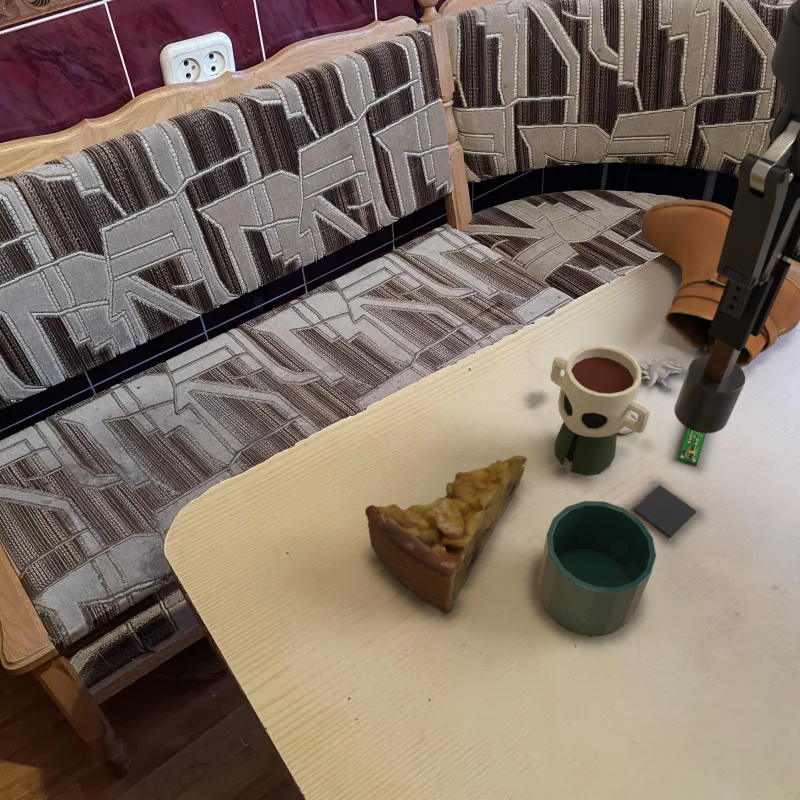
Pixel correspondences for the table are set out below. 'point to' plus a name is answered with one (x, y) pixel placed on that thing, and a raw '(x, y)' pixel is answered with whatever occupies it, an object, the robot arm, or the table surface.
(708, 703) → the table surface
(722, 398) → the brown post with base
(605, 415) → the character mug
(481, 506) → the pie slice
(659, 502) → the mat
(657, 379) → the stegosaurus
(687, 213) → the boot
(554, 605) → the cup
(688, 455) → the green pcb module
